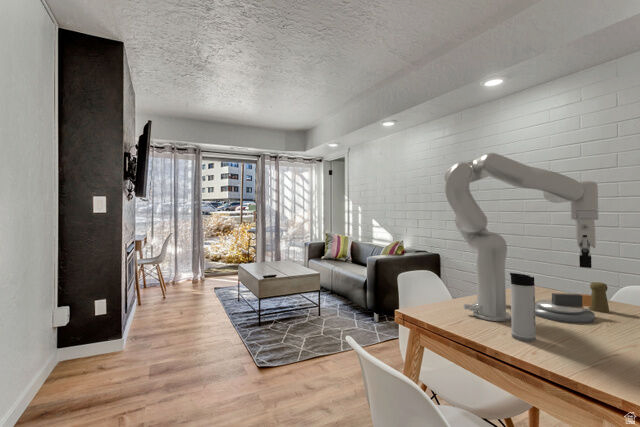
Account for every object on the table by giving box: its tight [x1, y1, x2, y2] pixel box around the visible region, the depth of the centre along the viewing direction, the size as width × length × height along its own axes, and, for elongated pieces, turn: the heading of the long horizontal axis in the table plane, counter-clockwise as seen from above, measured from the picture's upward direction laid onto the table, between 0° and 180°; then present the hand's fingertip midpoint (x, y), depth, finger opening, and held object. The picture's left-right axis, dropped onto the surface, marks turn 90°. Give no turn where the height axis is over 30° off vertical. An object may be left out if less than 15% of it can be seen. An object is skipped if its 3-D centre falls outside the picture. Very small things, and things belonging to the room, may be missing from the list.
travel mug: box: [509, 272, 537, 343], centre depth 97 cm, size 6×7×20 cm
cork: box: [588, 281, 610, 314], centre depth 124 cm, size 6×6×11 cm
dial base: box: [535, 301, 596, 324], centre depth 119 cm, size 20×20×3 cm
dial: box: [536, 292, 592, 314], centre depth 119 cm, size 17×14×6 cm
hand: (585, 265), depth 112 cm, fingers open, 5 cm apart
